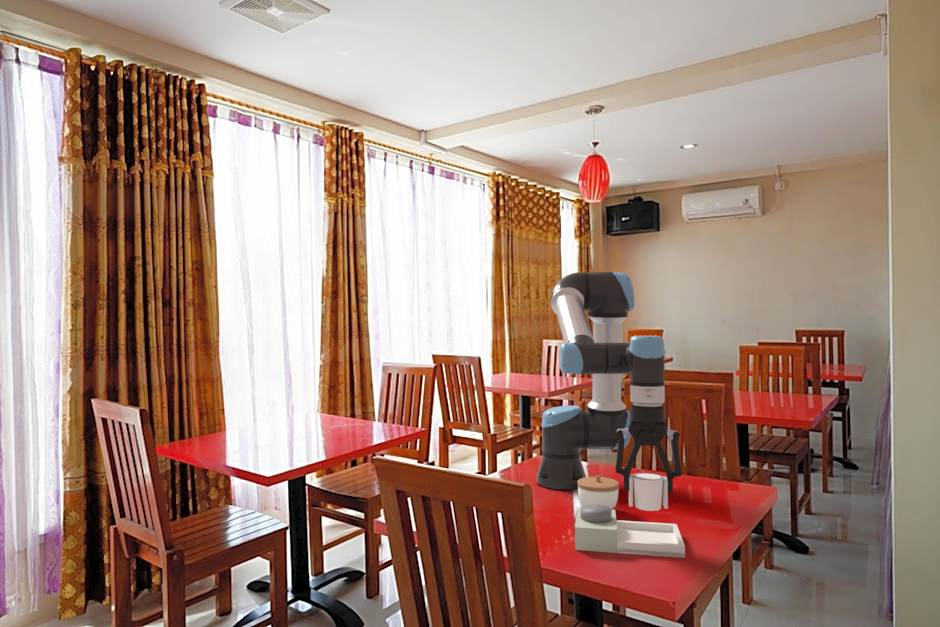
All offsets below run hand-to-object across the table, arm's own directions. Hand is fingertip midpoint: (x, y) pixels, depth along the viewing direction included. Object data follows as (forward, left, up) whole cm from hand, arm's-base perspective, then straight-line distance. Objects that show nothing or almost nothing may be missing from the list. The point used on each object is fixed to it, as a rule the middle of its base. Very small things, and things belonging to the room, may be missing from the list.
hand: (648, 505), depth 138 cm
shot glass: (0, 0, -1) cm, 1 cm away
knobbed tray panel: (0, -5, -9) cm, 10 cm away
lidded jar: (-21, -11, -9) cm, 25 cm away
